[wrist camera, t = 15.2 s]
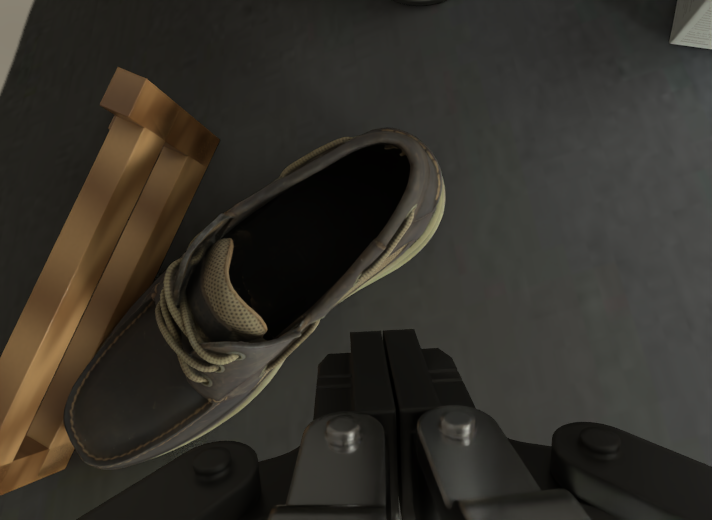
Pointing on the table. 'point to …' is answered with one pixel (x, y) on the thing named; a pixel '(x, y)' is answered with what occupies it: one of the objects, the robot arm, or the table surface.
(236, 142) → the table surface
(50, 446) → the wooden display stand
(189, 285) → the boat shoe
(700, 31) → the small box
